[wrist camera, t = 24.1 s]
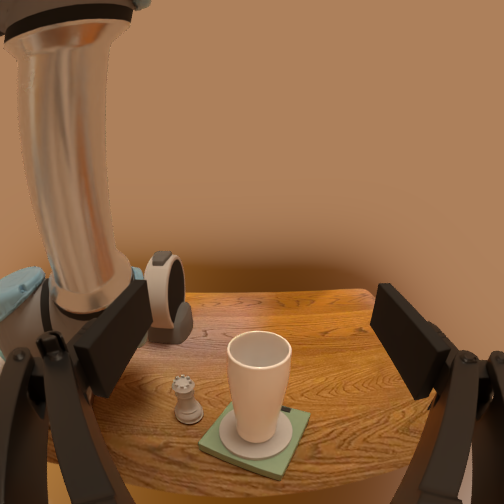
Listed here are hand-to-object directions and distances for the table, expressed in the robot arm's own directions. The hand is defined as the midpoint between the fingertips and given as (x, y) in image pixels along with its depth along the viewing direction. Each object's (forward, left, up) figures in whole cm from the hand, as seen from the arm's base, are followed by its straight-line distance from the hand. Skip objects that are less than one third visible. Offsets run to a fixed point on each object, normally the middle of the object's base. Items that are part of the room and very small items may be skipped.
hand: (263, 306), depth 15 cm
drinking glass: (-4, +9, -25) cm, 27 cm away
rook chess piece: (-15, +8, -28) cm, 33 cm away
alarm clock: (-34, +27, -28) cm, 52 cm away
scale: (-4, +9, -28) cm, 30 cm away
